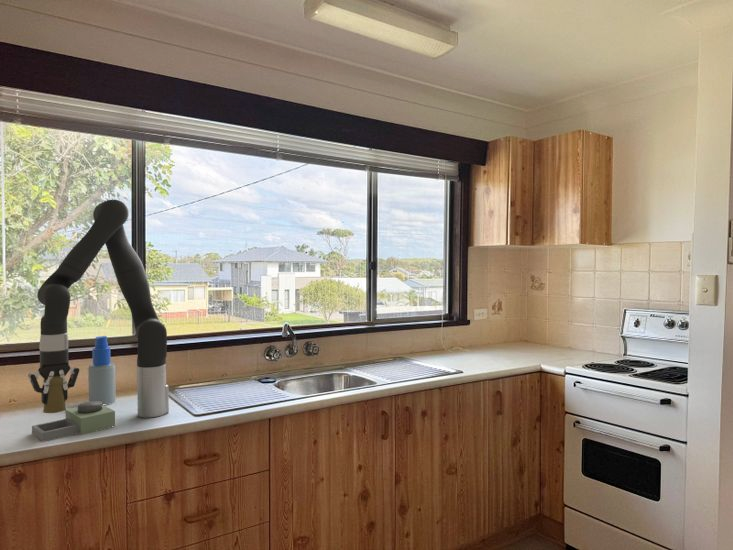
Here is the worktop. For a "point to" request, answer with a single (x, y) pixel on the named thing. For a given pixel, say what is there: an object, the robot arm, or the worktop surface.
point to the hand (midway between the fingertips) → (54, 403)
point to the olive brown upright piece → (55, 396)
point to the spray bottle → (101, 373)
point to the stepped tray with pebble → (77, 421)
